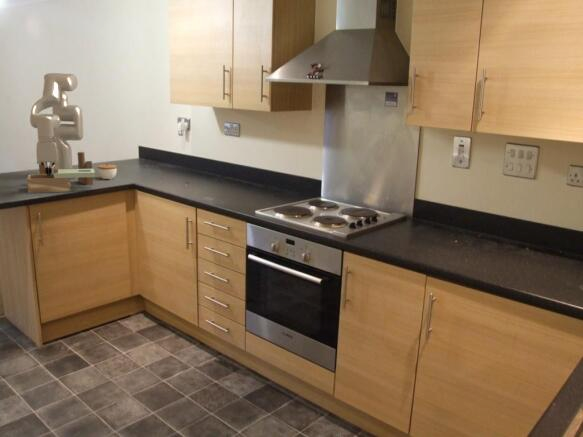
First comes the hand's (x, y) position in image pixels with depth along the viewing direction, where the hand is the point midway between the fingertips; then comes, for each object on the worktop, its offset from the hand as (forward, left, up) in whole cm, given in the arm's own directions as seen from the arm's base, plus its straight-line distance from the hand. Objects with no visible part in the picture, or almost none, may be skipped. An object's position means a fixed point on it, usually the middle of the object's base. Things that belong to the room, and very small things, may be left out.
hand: (48, 174), depth 277 cm
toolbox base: (0, 0, -9) cm, 9 cm away
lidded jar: (-30, +31, -9) cm, 44 cm away
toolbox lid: (0, +13, -1) cm, 13 cm away
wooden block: (-14, +18, -9) cm, 24 cm away
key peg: (-14, -3, -9) cm, 17 cm away
